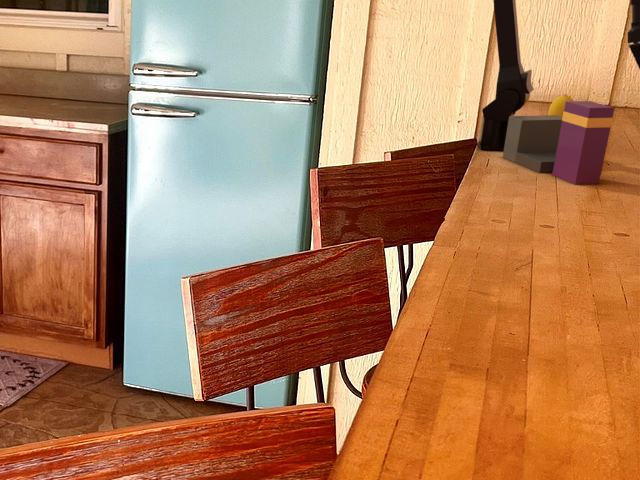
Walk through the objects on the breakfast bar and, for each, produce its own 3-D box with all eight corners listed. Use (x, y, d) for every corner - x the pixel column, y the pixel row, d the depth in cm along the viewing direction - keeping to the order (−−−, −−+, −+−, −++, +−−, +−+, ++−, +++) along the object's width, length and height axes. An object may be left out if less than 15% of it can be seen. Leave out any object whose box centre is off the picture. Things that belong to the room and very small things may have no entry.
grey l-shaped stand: (502, 157, 175) (509, 116, 172) (549, 156, 177) (557, 115, 173) (539, 172, 163) (547, 128, 159) (589, 171, 164) (598, 127, 161)
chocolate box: (574, 184, 154) (590, 107, 149) (551, 175, 161) (565, 101, 156) (599, 183, 155) (615, 107, 149) (575, 174, 162) (589, 100, 156)
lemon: (566, 128, 206) (573, 92, 203) (574, 132, 201) (581, 96, 198) (542, 127, 206) (548, 92, 203) (549, 132, 201) (556, 95, 198)
